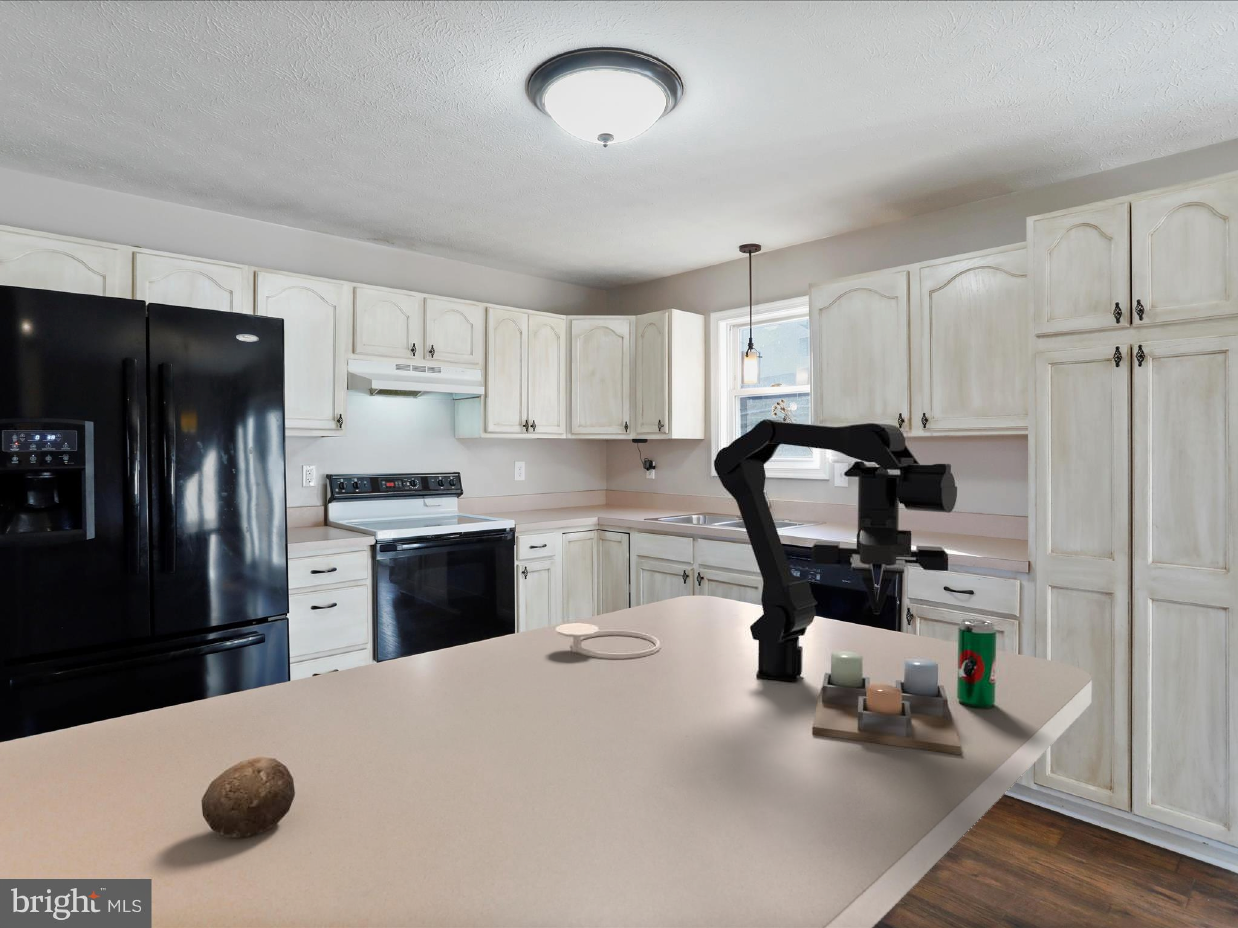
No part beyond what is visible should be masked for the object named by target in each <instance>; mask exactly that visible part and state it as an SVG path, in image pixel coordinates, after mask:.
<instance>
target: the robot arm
mask: <svg viewBox="0 0 1238 928" xmlns="http://www.w3.org/2000/svg"><path fill="white" fill-rule="evenodd" d="M781 445H787V446H793V447H795V446H796V447H805V448H811V449H812V448H813V449H821V450H831V451H834V452H838V453H840V454H842V455H845V456H847V457H849V458H852V459H855V460H856V461H854V463H853V464H852V465H851V466H850V467H849V468H847V470H845V471H844V473H843V476H844V477H845V478H846V477H847V478H852V477H853V478H858V479H857V481H858V482H857V483H858V485H857V533H856V547H845V546H841V545H840V544H841V543H840V541H827V540H825V541H824V540H816V542H814V543H813V545H812V546H811V548H810V549H811V551H810V563H811V564H814V565H815V564H819V565H834V564H835V563H836V562H837V561H838V560H846V561H847V560H848V561H850V563H851V566H850V571H852V572H857V573H858V574H859V576H860V578H861V580H862V582H863V584H864V587H865V589H866V592H867V596H868V598H869V602H870V605H871V609H872V612H873V614H874V615H879V614H881V611H882V608H883V605H884V603H885V599H886V597H887V594H888V591H889V589H890V586H891V585H892V583H893V582H894V580H895V578H896V576H897V575H904V574H905V567H904V566H906V564H917V565H919V566H920V567H921V568H922V569H923V570H924V571H937V572H938V571H940V572H947V571H949V554H948V553H947V551H946V550H945V549H944V548H943V547H942V546H931V545H930V546H929V545H916V546H915V550H912V531H911V530H903V529H899V528H900V527H899V523H900V521H899V516H900V515H899V513H900V511H899V510H900V504H901V505H903V506H904V508H905V509H906V510H908V511H915V512H916V511H917V512H931V513H932V512H933V513H946V514H948V513H951V512H953V510H954V509H955V506H956V503H957V497H958V486H956V481H955V478H954V477H955V476H954V474H953V473H952V464H950V463H932V464H920V462H919V461H918V460H917V458H916V457H915V456H914V454H913V453H912V452H911V450H910V449H909V448H908V446H907V445H906V438H905V434H904V433H903V431H901V429H900V427H898V426H896V425H894V424H888V423H877V422H872V423H871V422H868V423H857V424H856V423H855V424H849V425H843V426H842V425H841V426H832V425H831V426H829V425H820V424H819V425H818V424H809V423H798V422H787V421H783V420H781V419H769V418H768V419H767V418H766V419H763V420H761V421H759V422H757V424H755V426H754V427H753V428H751V429H750V430H749V431H747V432H745V433H744V434H742V435H741V436H739V437H737V438H736V439H734V440H733V441H732V442H731V443H729V445H728V446H725V447H722V448H721V449H720V450H719V451H718V452H717V454H716V456H715V459H714V460H713V468H714V470H715V474H716V475H717V477H718V480H720V483H721V485H722V486H723V489H725V490H726V491H727V492H728V494H730V495H731V496H732V498H733V499H734V500H735V502H736V505H737V507H738V509H739V513H740V516H741V519H742V522H743V525H744V528H745V531H746V534H747V537H748V540H749V544H750V546H751V550H752V552H753V554H754V558H755V560H756V564H757V567H758V569H759V573H760V576H761V578H762V591H761V599H760V603H761V608H762V615H761V616H760V617H758V618H757V619H756V620H755V621H754V622H753V623H752V624H751V625H750V626H749V629H750V632H751V633H750V634H751V636H752V639H753V641H758V652H757V653H758V654H757V655H758V661H757V662H758V664H757V672H756V673H755V677H756V678H759V679H768V680H774V681H777V680H778V681H787V682H793V683H794V682H795V683H796V682H797V681H798V679H799V677H800V676H801V675H802V672H803V650H804V649H803V646H802V645H801V646H800V637H802V636H805V634H806V632H807V630H808V627H809V626H810V625H811V624H812V623H813V622H814V620H815V617H816V614H817V609H816V605H817V604H818V601H817V600H816V598H814V595H813V593H812V589H811V585H810V582H809V580H807V579H805V580H799V579H798V578H797V577H796V575H794V574H793V571H792V570H791V567H790V564H789V561H788V559H787V555H786V553H785V549H784V546H783V543H782V541H781V538H780V536H779V533H778V529H777V526H776V524H775V521H774V519H773V515H772V512H771V510H770V506H769V503H768V501H767V498H766V495H765V485H766V478H767V476H766V470H765V464H766V463H768V462H769V460H771V459H772V458H773V456H774V455H775V453H776V451H777V449H778V448H779V446H781ZM857 460H858V461H857ZM866 463H875V464H876V465H877V466H871V465H866ZM889 470H890V471H891V470H892V471H896V470H897V471H899V473H890V472H889ZM873 564H874V565H875V564H876V565H881V570H880V577H879V584H878V591H877V594H876V586H875V577H874V571H873V570H874V569H873Z"/></svg>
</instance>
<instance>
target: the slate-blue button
mask: <svg viewBox="0 0 1238 928" xmlns="http://www.w3.org/2000/svg"><path fill="white" fill-rule="evenodd" d="M903 664H904V665H903V667H904V668H903V669H904V670H903V671H904V672H903V681H904V690H905V691H906V692H907V693H910V694H913V695H920V696H935V695H937V694H938V685H939V664H938V662H936V661H933V660H929V659H924V658H918V657H917V658H907V659H905V660H904V663H903Z"/></svg>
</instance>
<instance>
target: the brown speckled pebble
mask: <svg viewBox="0 0 1238 928" xmlns="http://www.w3.org/2000/svg"><path fill="white" fill-rule="evenodd" d="M294 783H295V781H294V777H293V776H292V774H291V772H290V771H289V769H288V767H287V766H286V765H285V764H284V763H282V762H280V761H279V760H277V759H276V758H274V757H273V758H272V757H265V756H264V757H262V756H258V757H254V758H250V759H245V760H242V761H240V762H238V763H236V764H234V765H233V766H231V767H229V768H227V769H225V770H224V771H223V772H222V773H221V774H219V775H218V776H217V777H216V778H214V779H213V780H212V781H211V782H210V784H209V785H208V787H207V788H206V791H205V792H204V795H203V796H202V799H201V810H202V811H201V812H202V817H203V818H204V820H205V822H206V823H207V824H208V826H209V827H210V829H211V830H212V831H214V832H216V833H218V834H220V835H222V836H224V837H227V838H242V839H243V838H247V837H250V836H254V835H257V834H261V833H263V832H265V831H267V830H269V829H272V828H273V827H275V826H276V825H277V824H279V822H280V821H281V820H282V819H283V818H284V817H285V816H286V815H287V814H288V812H289V811H290V809H291V806H292V805H293V804H292V803H293V801H294V799H295V797H296V795H295V794H296V791H295V790H296V789H295V784H294Z"/></svg>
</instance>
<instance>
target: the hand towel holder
mask: <svg viewBox="0 0 1238 928" xmlns="http://www.w3.org/2000/svg"><path fill="white" fill-rule="evenodd" d="M555 631H556V633H557V634H558V635H560V636H564V637H568V638H572V640H571V651H572V652H573V653H579V655H580V654H581V655H583V656H586V657H587V656H588V657H592V658H598V659H606V660H607V659H609V660H627V659H629V660H630V659H637V658H638V659H639V658H643V657H647V656H650V655H653V654H655V653H657V652H659V651H660V649H661V647H662V644H661V643H660V641H659V639H658V638H657V637H655V636H652V635H651V634H647V633H643V632H639V631H634V630H633V631H632V630H618V629H617V630H616V629H615V630H614V629H607V630H600V629H599V626H597V625H593V624H590V623H578V622H577V623H576V622H575V623H565V624H561V625H558V626H556V627H555ZM606 636H607V637H608V636H609V637H611V636H623V637H624V636H625V637H633V638H639V639H644V640H647V641H649V642H652V643H653V644H654V645H655V646H654V647H652V648H649V649H647V650H643V651H636V652H627V653H626V652H623V653H619V652H618V653H616V652H615V653H613V652H611V653H610V652H599V651H594V650H589V649H586V648H583V646H582V641H583V640H586V639H590V638H596V637H597V638H599V637H606Z"/></svg>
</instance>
